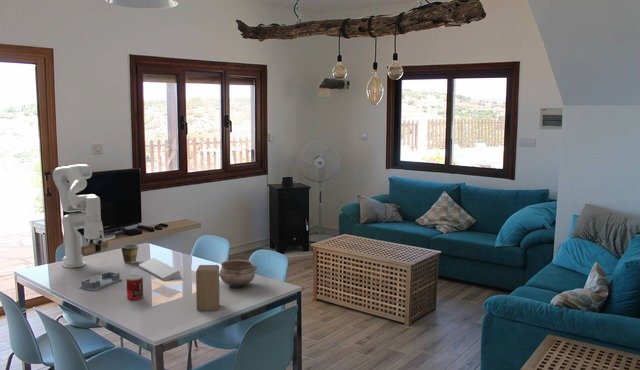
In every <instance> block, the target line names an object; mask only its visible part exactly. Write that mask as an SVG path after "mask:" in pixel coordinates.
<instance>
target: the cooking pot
mask: <svg viewBox="0 0 640 370" xmlns="http://www.w3.org/2000/svg"><path fill="white" fill-rule="evenodd" d="M254 264H255V263H254V262H253V261H251V260H248V259H238V258H237V259H230V260H229V259H228V260H225V261H223V262H220V265H221V268H220V269H219V279H221V281H222V283H224V284H226V285H229V286H230V287H232V288H242V287H244V286H246V285H248V284H250V283H251V282H252V281H253V279H255V275H256V270H258V265H254Z"/></svg>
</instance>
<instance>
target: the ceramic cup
mask: <svg viewBox="0 0 640 370" xmlns="http://www.w3.org/2000/svg"><path fill="white" fill-rule="evenodd" d="M120 249H121V253H122V258H123V262H124V263H125V264H135V263H136V262H137V257H138V253H139V252H138V251H139V245H138V244H123V245H121V246H120ZM134 262H135V263H134Z"/></svg>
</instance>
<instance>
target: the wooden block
mask: <svg viewBox="0 0 640 370" xmlns="http://www.w3.org/2000/svg"><path fill="white" fill-rule="evenodd" d="M219 274H220V266H219V265H218V264H199V265H198V267H197V269H196V271H195V284H196V285H195V288H196V289H195V292H196V298H195V299H196V300H195V301H196V311H199V312H201V311H202V312H203V311H205V312H206V311H207V312H208V311H210V312H211V311H214V312H215V311H218V309H219V307H220V276H219Z"/></svg>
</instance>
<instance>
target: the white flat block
mask: <svg viewBox="0 0 640 370" xmlns="http://www.w3.org/2000/svg"><path fill="white" fill-rule="evenodd" d="M138 266H139V268H140V267H141V269H142V270H144V271H145V272H147V273H149V272H150V273H149V274H151V273H152V274H151V275H153V276H155V277H156V278H158V279H160V278H161V280H163V281H165V280H166V281H171V280H173V279H180V278H181V277H182V276H181V271H180V270H179V269H178V268H175V267H173V266H171V265H169V264H167V263H164V262H163V261H161V260H159V259H157V258H155V257H152V258H150V259H148V260H145V261H143V262H141V263H139V264H138ZM170 279H171V280H170Z"/></svg>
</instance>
